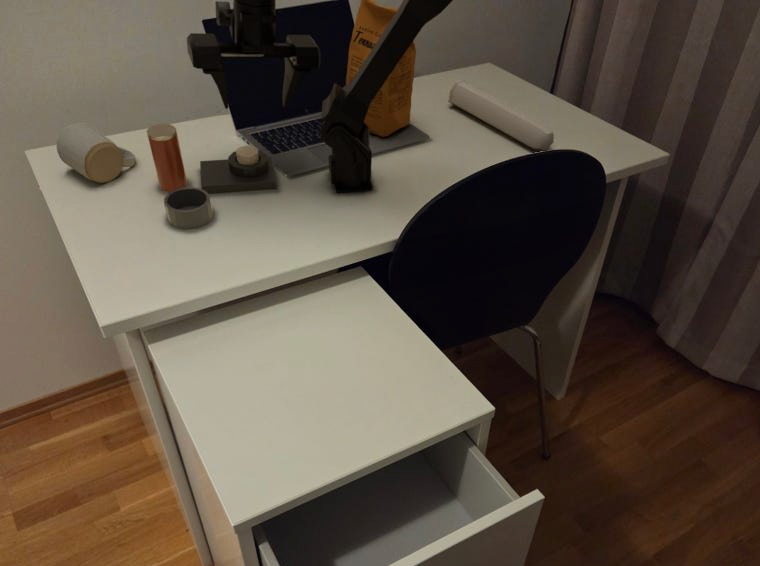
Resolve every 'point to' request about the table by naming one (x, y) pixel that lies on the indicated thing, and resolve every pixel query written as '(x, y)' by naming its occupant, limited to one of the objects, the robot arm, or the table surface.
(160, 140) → the orange metal cylinder
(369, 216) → the table surface
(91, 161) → the ceramic mug
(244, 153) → the release button
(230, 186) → the plate with ring holder
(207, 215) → the capsule holder
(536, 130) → the tube
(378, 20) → the coffee package
